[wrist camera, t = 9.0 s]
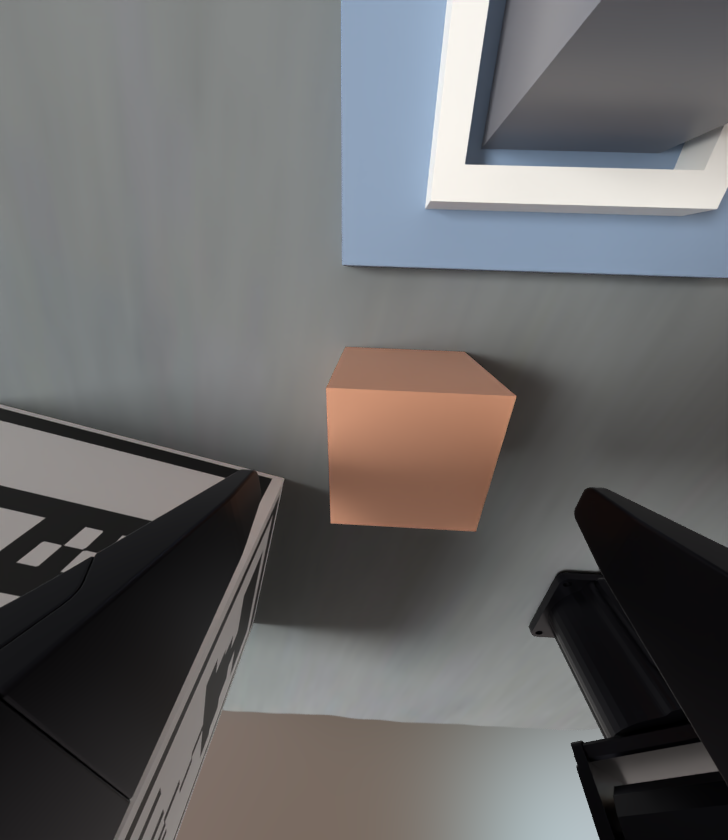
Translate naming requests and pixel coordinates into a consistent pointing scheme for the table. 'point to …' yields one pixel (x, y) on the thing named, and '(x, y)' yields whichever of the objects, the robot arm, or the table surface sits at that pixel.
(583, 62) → the charcoal cube
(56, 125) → the table surface
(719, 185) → the board
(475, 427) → the terracotta cube
